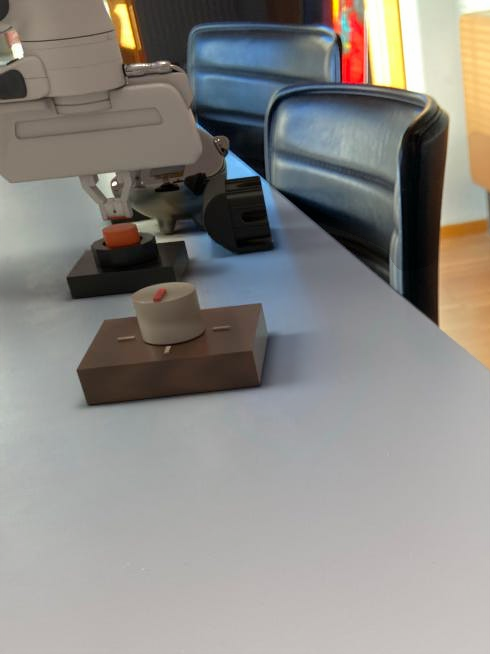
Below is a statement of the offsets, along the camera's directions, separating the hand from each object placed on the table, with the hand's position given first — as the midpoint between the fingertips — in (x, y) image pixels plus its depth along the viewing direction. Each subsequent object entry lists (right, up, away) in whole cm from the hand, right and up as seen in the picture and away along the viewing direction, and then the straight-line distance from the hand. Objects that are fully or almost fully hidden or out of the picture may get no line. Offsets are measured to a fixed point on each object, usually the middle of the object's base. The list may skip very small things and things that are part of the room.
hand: (118, 218), depth 107 cm
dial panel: (+13, -21, -20) cm, 31 cm away
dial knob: (+12, -19, -21) cm, 31 cm away
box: (0, -5, +3) cm, 6 cm away
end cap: (+10, +2, +12) cm, 16 cm away
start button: (0, -2, +1) cm, 3 cm away
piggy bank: (+1, +7, +20) cm, 22 cm away
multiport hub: (-5, +11, +27) cm, 29 cm away
